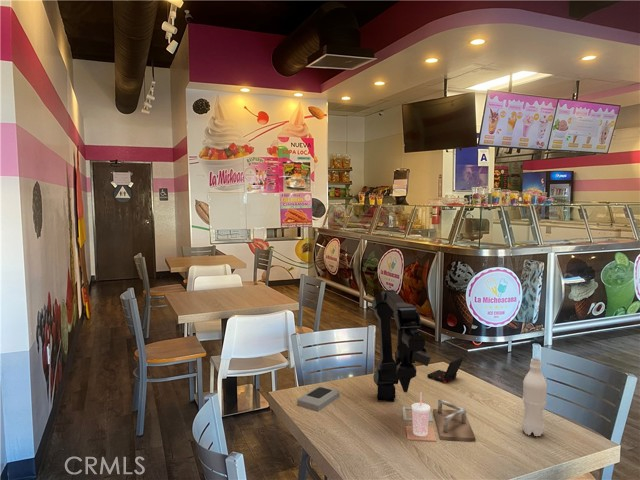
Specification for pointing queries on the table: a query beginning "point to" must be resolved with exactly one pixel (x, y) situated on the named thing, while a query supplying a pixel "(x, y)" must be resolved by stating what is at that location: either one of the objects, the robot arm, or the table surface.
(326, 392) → the keypad
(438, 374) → the dark piece
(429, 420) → the frame
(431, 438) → the end mat
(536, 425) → the water bottle
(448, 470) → the table surface
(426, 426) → the beverage cup
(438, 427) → the wire board
